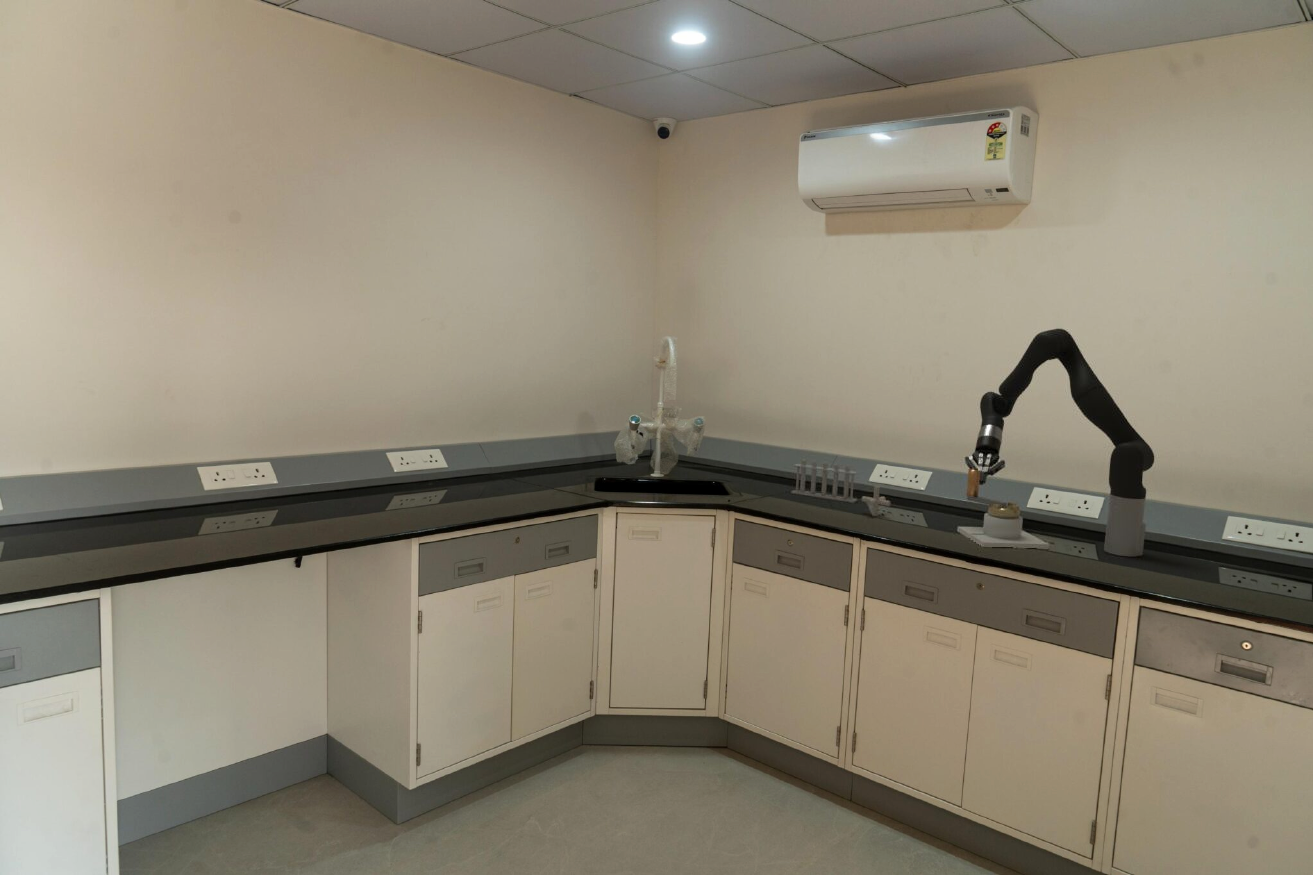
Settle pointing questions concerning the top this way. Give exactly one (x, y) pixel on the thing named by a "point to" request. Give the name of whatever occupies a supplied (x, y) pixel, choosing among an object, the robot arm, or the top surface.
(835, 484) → the test tube rack
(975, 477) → the lever-handled chuck
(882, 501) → the pipe connector
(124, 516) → the top surface
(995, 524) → the cylinder on square plate
